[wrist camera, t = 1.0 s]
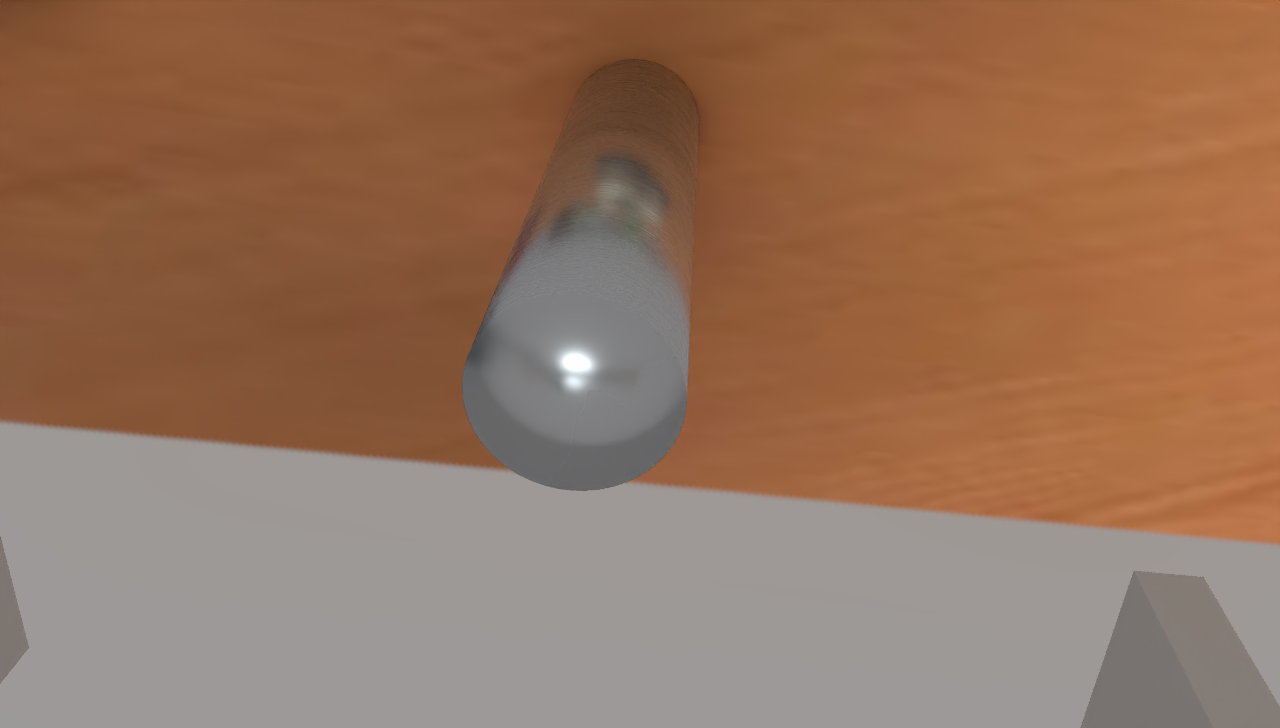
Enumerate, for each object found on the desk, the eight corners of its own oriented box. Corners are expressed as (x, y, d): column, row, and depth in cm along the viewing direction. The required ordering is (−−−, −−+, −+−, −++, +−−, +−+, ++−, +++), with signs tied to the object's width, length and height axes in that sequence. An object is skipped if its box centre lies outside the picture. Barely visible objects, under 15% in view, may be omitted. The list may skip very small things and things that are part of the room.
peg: (569, 180, 32) (463, 481, 18) (573, 54, 30) (461, 285, 17) (693, 190, 31) (677, 499, 18) (704, 64, 30) (696, 304, 17)
